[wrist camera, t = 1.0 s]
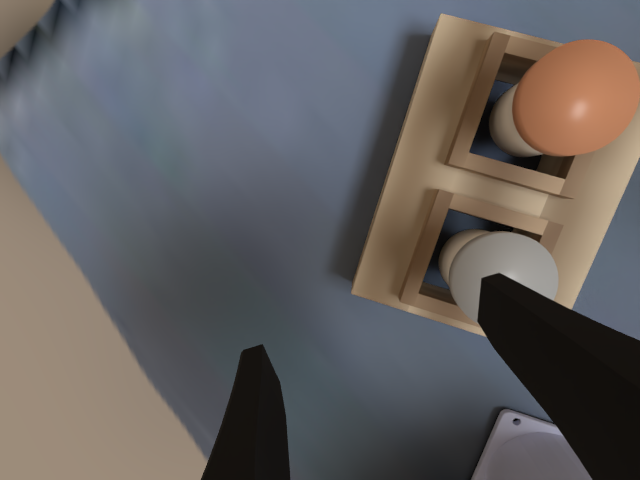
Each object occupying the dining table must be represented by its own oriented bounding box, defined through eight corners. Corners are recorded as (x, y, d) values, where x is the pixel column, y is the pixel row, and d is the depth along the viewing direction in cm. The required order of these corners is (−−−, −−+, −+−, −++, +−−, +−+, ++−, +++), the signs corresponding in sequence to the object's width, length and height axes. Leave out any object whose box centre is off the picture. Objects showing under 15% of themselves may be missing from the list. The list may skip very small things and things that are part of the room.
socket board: (637, 87, 19) (697, 64, 16) (529, 338, 22) (559, 365, 19) (431, 34, 20) (445, 3, 17) (352, 282, 23) (350, 298, 20)
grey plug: (526, 236, 19) (575, 250, 14) (497, 309, 20) (535, 342, 15) (448, 213, 19) (473, 220, 15) (422, 285, 20) (438, 312, 16)
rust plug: (586, 88, 17) (660, 55, 13) (552, 172, 18) (611, 167, 14) (501, 66, 18) (545, 27, 13) (470, 150, 19) (504, 138, 14)
